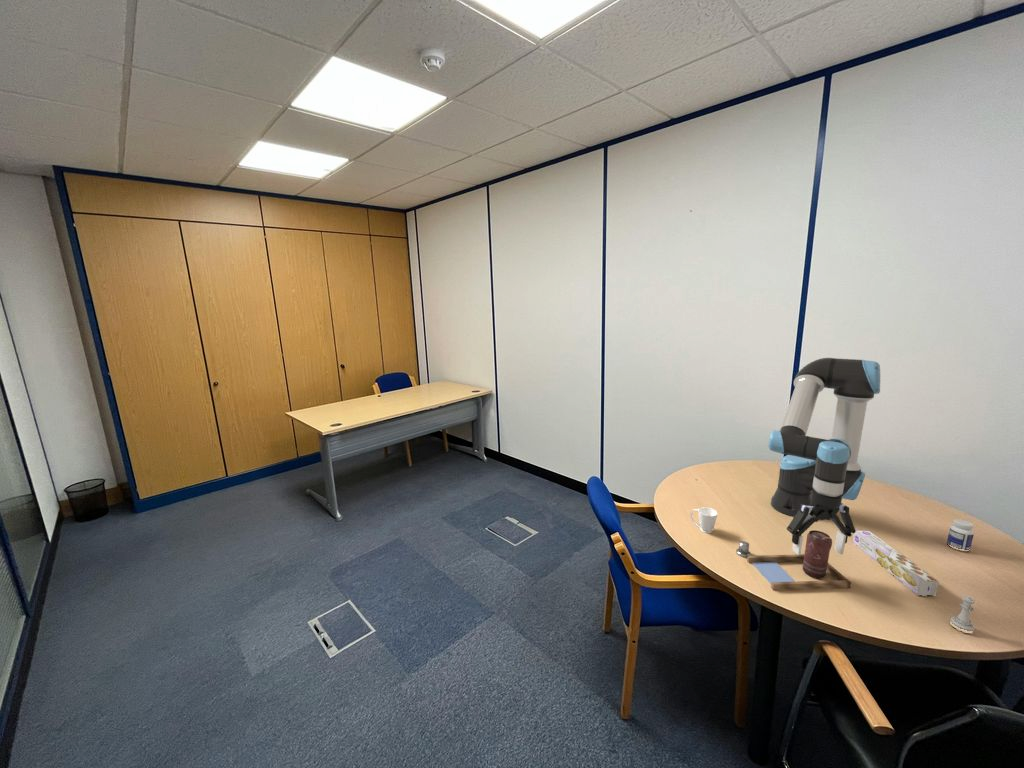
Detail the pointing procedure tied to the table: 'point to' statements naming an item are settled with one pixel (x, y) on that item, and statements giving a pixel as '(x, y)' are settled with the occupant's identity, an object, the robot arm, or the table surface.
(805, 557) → the can
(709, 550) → the table surface
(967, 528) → the pill bottle
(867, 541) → the box
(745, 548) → the grey metal knob
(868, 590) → the table surface
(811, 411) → the robot arm
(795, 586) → the frame
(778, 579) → the front pad
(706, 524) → the cup
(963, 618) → the chess piece
